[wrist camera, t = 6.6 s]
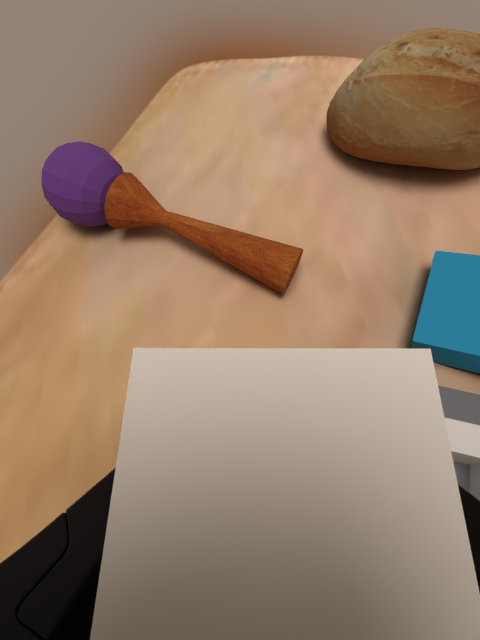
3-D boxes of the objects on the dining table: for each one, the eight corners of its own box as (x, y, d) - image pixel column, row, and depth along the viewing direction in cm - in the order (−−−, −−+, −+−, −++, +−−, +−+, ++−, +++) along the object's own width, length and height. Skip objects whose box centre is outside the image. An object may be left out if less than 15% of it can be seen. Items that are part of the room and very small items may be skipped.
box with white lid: (324, 547, 13) (518, 786, 3) (215, 543, 13) (72, 750, 3) (317, 433, 15) (430, 348, 5) (220, 431, 15) (133, 347, 5)
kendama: (276, 299, 21) (6, 182, 24) (274, 319, 27) (57, 223, 30) (316, 213, 22) (50, 111, 25) (305, 251, 28) (91, 165, 31)
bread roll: (510, 204, 27) (601, 106, 20) (314, 181, 29) (331, 84, 22) (502, 118, 31) (577, 8, 23) (329, 103, 33) (347, -3, 26)
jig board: (513, 709, 16) (592, 784, 12) (276, 629, 18) (279, 672, 14) (503, 406, 21) (556, 392, 17) (320, 366, 23) (331, 345, 19)
